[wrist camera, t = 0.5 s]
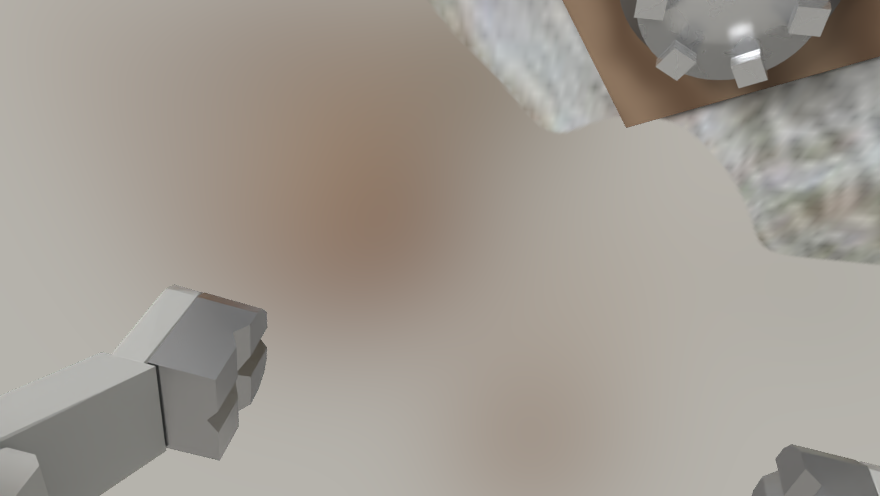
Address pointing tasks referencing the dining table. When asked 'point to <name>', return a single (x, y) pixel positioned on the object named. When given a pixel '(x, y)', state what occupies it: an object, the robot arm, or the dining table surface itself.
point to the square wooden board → (658, 95)
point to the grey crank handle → (728, 35)
